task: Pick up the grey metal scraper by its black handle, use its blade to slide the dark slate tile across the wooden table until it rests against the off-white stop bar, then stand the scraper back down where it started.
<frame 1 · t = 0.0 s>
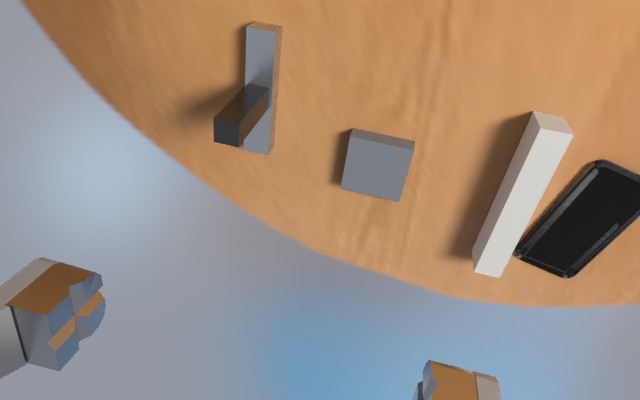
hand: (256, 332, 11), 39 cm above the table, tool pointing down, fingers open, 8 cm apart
scraper: (265, 88, 50), on the table
slate tile: (377, 159, 52), on the table
phone: (580, 219, 51), on the table
stop bar: (512, 191, 50), on the table
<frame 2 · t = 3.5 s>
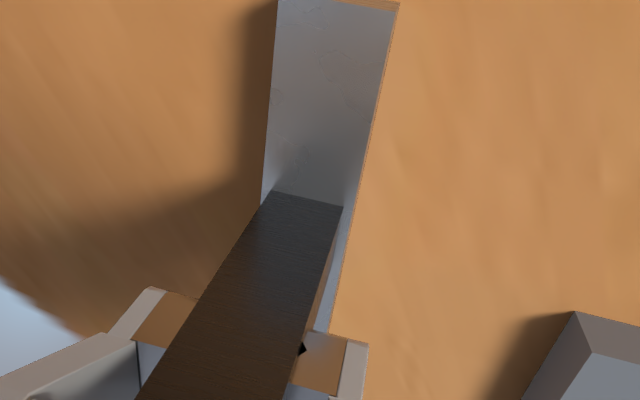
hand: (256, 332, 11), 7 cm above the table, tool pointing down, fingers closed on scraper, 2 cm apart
scraper: (317, 194, 17), on the table, touching gripper
slate tile: (620, 385, 19), on the table
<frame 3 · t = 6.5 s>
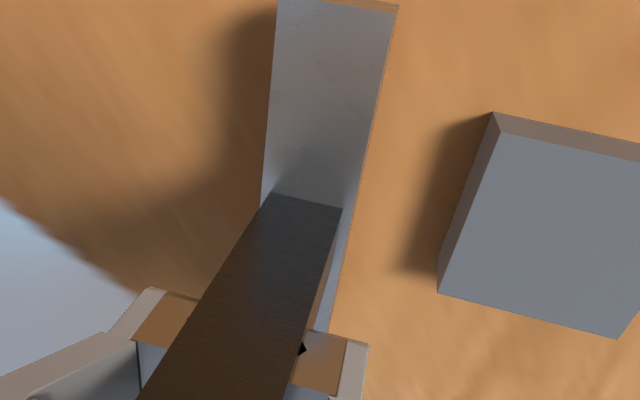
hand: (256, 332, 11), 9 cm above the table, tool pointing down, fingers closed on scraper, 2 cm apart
scraper: (317, 195, 17), point 2 cm above the table, touching gripper
slate tile: (548, 210, 18), on the table
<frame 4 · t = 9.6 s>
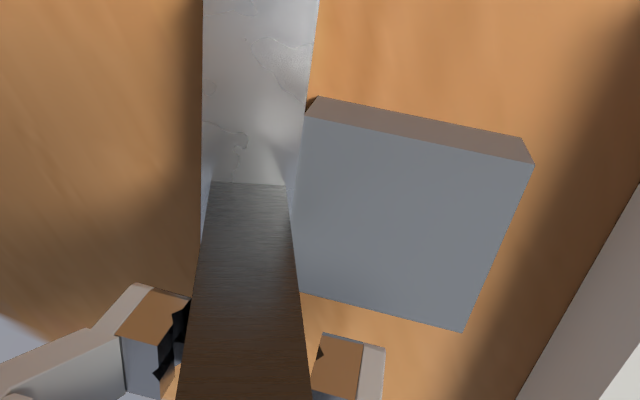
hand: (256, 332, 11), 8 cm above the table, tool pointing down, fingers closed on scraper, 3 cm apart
scraper: (247, 178, 17), on the table, tilted 19°, touching gripper
slate tile: (394, 199, 17), on the table
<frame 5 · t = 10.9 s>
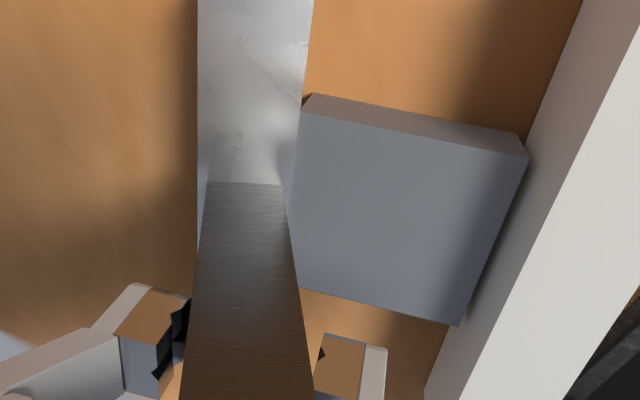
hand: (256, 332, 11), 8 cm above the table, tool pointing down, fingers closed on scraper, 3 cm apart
scraper: (243, 178, 17), point 1 cm above the table, tilted 20°, touching gripper
slate tile: (390, 194, 17), on the table
stop bar: (531, 236, 16), on the table
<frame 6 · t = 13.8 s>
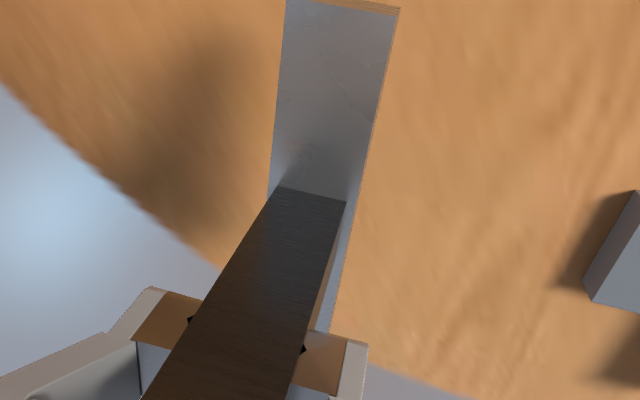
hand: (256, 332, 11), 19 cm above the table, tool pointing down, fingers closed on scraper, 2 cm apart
scraper: (321, 190, 17), point 11 cm above the table, touching gripper
when the fingers open (8 cm above the table, at t = 16.5 s): scraper stays where it is, on the table.
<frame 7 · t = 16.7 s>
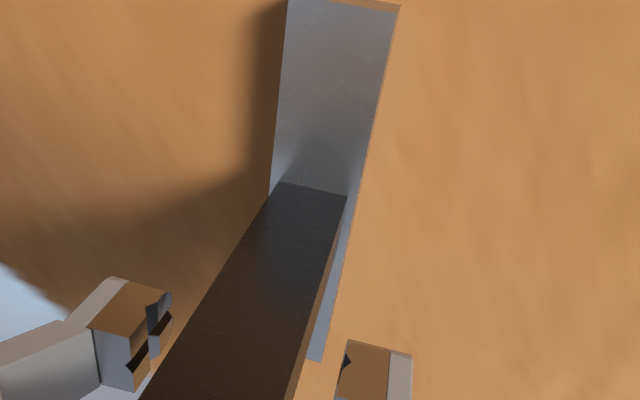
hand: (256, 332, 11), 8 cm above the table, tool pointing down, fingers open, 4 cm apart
scraper: (322, 186, 18), on the table
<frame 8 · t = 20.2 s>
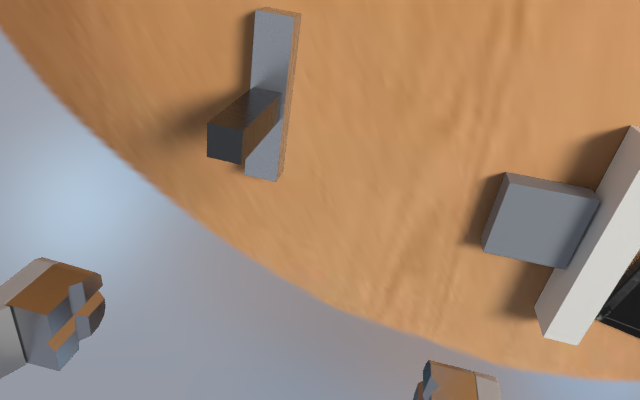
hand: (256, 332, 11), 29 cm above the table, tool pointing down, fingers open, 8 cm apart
scraper: (275, 95, 39), on the table
slate tile: (532, 212, 39), on the table
stop bar: (594, 231, 38), on the table
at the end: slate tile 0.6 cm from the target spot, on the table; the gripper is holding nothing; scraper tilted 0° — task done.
